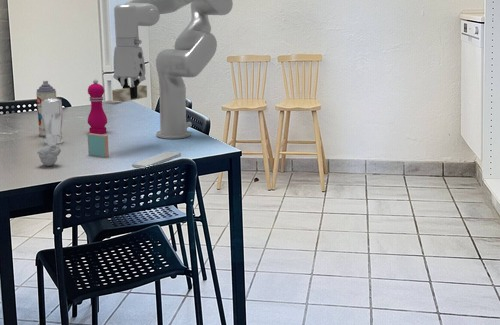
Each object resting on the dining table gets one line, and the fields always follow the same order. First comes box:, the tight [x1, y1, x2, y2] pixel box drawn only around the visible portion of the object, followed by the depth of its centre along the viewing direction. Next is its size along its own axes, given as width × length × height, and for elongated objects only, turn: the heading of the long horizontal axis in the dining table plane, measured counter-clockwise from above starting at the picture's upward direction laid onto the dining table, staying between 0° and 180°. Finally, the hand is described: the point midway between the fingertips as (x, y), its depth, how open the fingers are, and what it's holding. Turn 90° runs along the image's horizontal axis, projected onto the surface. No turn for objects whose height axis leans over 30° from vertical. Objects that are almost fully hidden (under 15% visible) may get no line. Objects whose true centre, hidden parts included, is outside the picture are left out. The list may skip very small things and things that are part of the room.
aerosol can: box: [36, 80, 57, 138], centre depth 240 cm, size 7×7×20 cm
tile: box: [87, 132, 110, 159], centre depth 212 cm, size 2×7×7 cm, turn 63°
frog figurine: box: [37, 143, 62, 167], centre depth 199 cm, size 6×7×7 cm
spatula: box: [102, 84, 148, 106], centre depth 220 cm, size 20×5×4 cm, turn 154°
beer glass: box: [42, 98, 64, 145], centre depth 229 cm, size 7×7×15 cm
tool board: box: [131, 151, 182, 169], centre depth 206 cm, size 19×5×1 cm, turn 153°
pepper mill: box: [87, 79, 108, 135], centre depth 246 cm, size 7×7×20 cm
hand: (130, 97), depth 222 cm, fingers closed on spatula, 2 cm apart
